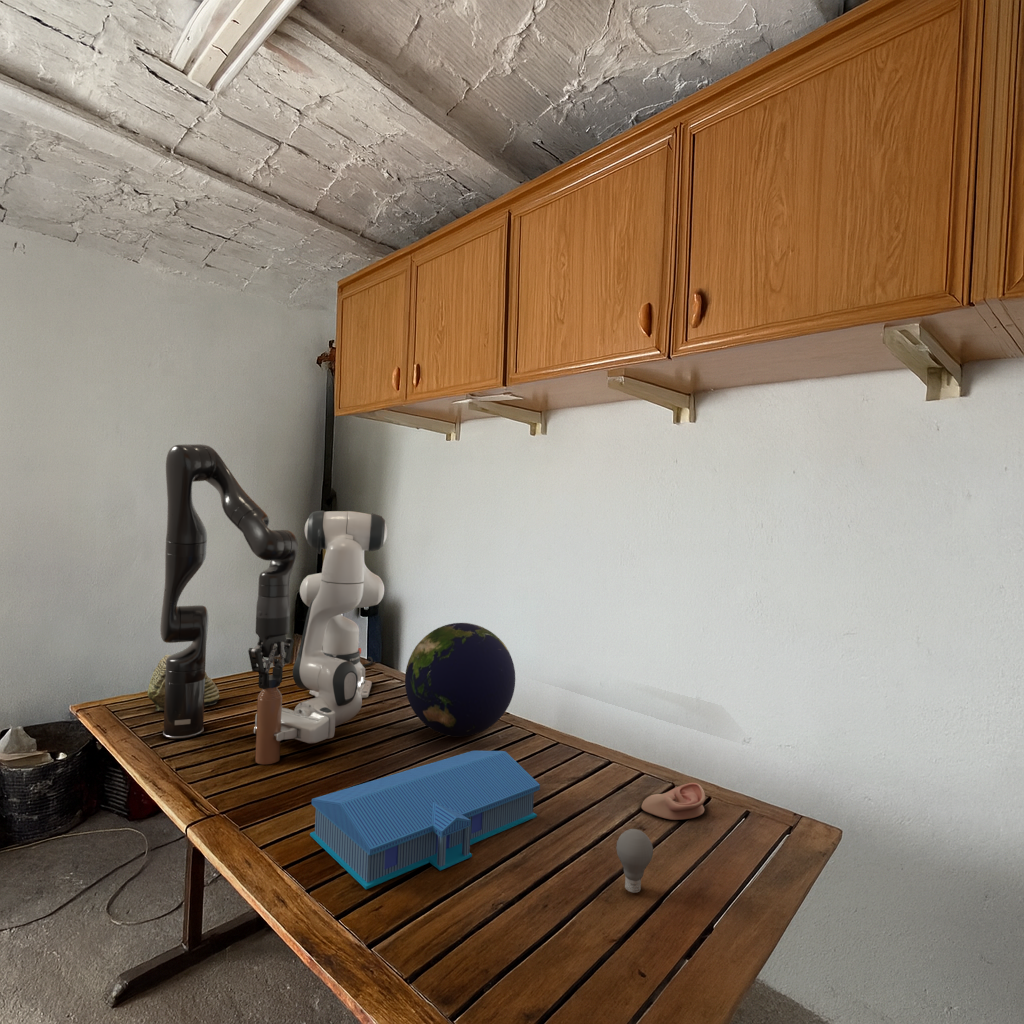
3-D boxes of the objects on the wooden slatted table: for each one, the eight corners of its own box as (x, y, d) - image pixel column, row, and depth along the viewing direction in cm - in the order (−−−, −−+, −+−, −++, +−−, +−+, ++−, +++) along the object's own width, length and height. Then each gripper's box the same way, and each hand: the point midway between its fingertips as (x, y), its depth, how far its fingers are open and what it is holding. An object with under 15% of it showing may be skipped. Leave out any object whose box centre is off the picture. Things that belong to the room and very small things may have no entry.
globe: (380, 741, 165) (385, 626, 164) (436, 708, 192) (440, 610, 192) (485, 764, 153) (490, 641, 153) (528, 725, 181) (533, 621, 181)
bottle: (281, 762, 150) (284, 681, 149) (256, 766, 147) (259, 684, 147) (278, 753, 155) (281, 675, 154) (254, 757, 152) (257, 677, 152)
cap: (277, 681, 154) (277, 674, 154) (282, 686, 150) (282, 678, 150) (258, 684, 151) (258, 676, 151) (262, 689, 148) (263, 681, 148)
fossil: (144, 707, 182) (145, 655, 182) (212, 696, 194) (213, 647, 194) (151, 716, 175) (153, 662, 175) (221, 703, 188) (223, 653, 188)
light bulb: (610, 879, 108) (613, 822, 108) (644, 879, 109) (647, 822, 109) (619, 902, 102) (622, 840, 102) (655, 901, 103) (658, 840, 103)
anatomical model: (642, 796, 131) (642, 773, 142) (641, 815, 131) (641, 791, 142) (708, 805, 128) (703, 781, 140) (707, 825, 129) (702, 799, 140)
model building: (376, 899, 100) (378, 836, 100) (308, 834, 119) (310, 781, 118) (548, 822, 127) (550, 773, 127) (472, 779, 145) (474, 735, 145)
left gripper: (266, 620, 142) (263, 696, 143) (304, 610, 156) (302, 679, 156) (238, 617, 145) (236, 691, 145) (279, 608, 158) (276, 676, 159)
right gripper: (281, 697, 167) (236, 712, 155) (339, 713, 157) (296, 729, 145) (281, 721, 167) (235, 737, 155) (338, 738, 157) (295, 757, 145)
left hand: (270, 685), depth 151 cm, fingers closed on cap, 4 cm apart
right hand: (265, 734), depth 150 cm, fingers closed on bottle, 5 cm apart
